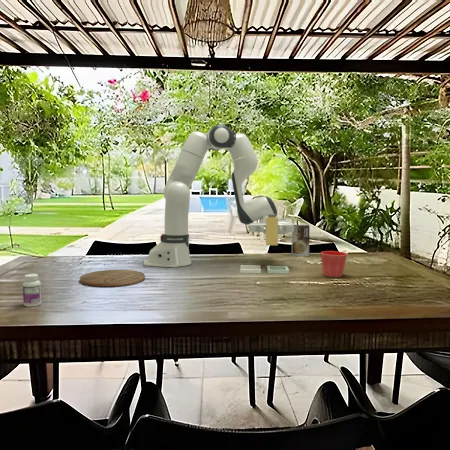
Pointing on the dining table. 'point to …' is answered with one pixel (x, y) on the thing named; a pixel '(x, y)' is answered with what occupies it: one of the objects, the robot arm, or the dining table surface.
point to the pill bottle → (32, 290)
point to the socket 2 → (278, 269)
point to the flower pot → (333, 263)
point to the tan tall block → (271, 229)
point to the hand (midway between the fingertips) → (272, 229)
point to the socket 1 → (250, 269)
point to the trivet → (112, 278)
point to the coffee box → (300, 240)
